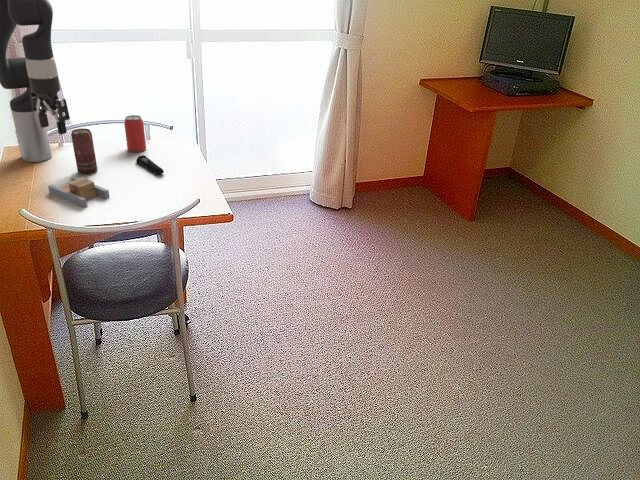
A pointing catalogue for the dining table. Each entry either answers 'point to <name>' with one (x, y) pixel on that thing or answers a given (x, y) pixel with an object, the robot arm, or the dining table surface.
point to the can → (84, 151)
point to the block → (83, 188)
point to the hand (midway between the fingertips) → (53, 130)
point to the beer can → (135, 133)
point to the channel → (74, 198)
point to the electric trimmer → (149, 165)
